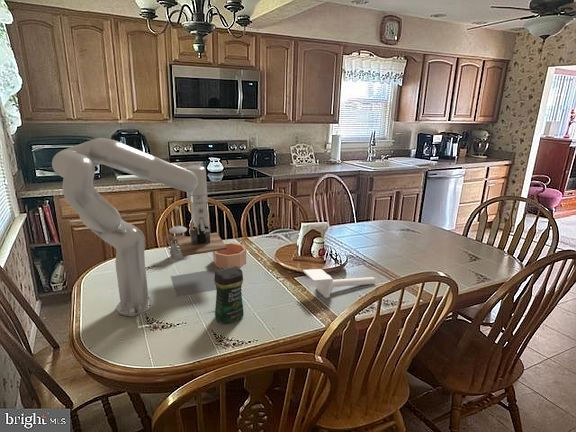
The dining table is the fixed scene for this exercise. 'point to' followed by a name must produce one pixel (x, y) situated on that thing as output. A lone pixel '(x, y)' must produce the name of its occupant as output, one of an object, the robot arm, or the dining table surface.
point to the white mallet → (333, 281)
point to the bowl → (230, 256)
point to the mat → (194, 282)
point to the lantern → (175, 253)
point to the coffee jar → (228, 295)
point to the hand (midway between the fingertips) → (200, 240)
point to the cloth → (192, 247)
